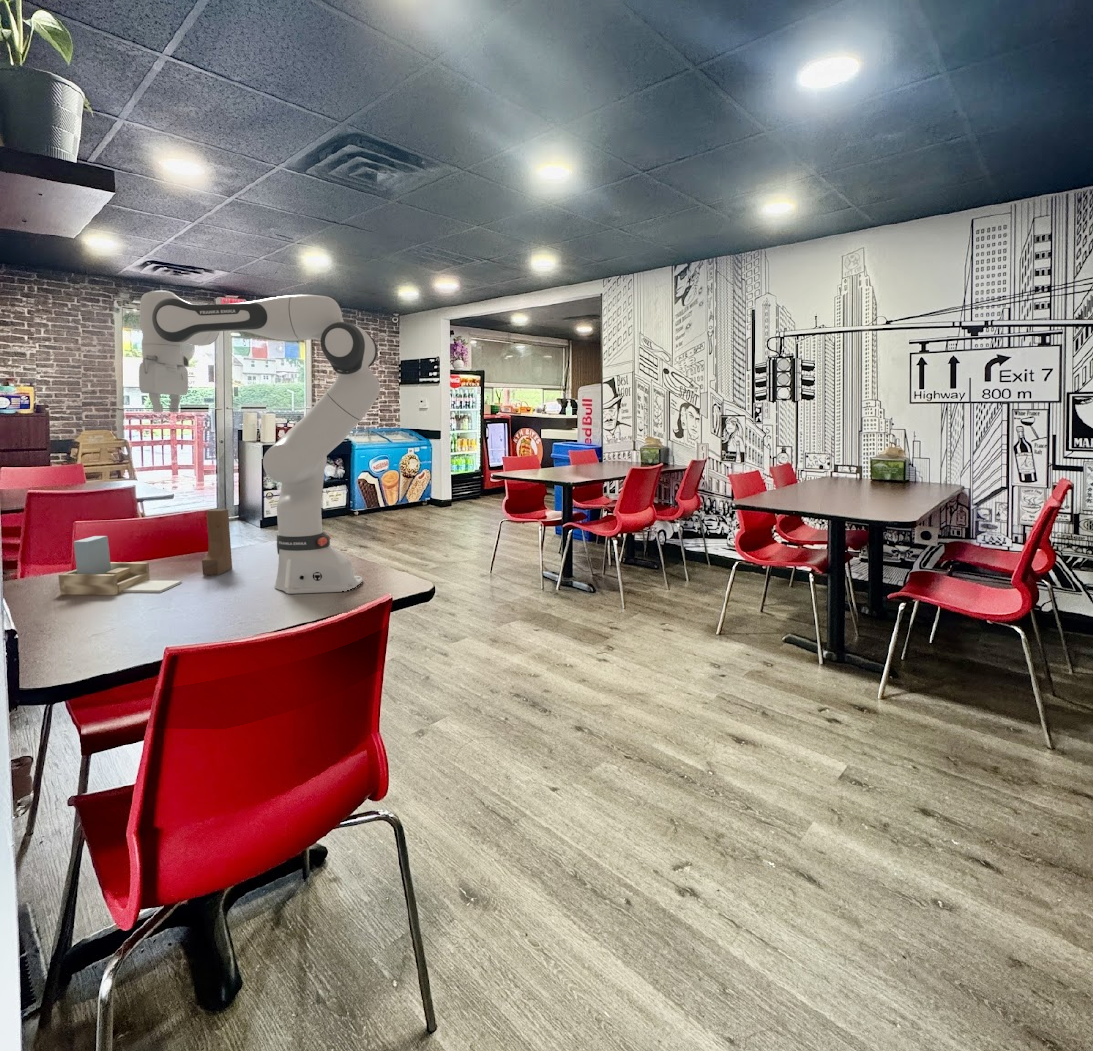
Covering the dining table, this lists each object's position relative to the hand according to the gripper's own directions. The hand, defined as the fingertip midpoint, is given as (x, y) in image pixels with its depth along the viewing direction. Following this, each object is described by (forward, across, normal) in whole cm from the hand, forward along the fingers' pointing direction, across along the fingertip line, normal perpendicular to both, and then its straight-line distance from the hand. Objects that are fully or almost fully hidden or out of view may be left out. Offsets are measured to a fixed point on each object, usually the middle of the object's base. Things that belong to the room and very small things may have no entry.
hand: (166, 412), depth 173 cm
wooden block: (+46, +14, -5) cm, 48 cm away
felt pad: (+46, -3, +5) cm, 46 cm away
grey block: (+46, -1, +20) cm, 50 cm away
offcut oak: (+44, -2, +14) cm, 46 cm away
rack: (+46, -2, +17) cm, 49 cm away
